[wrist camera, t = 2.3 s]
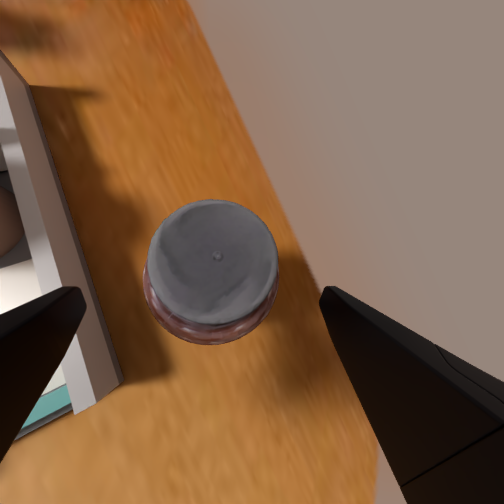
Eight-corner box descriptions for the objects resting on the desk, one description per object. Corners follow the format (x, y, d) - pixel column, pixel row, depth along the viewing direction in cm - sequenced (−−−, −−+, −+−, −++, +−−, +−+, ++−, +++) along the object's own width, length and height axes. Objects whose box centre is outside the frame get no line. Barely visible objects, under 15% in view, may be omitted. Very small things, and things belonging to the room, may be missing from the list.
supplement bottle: (260, 280, 17) (337, 236, 7) (223, 343, 15) (252, 418, 5) (205, 244, 17) (196, 142, 7) (160, 302, 15) (47, 287, 5)
